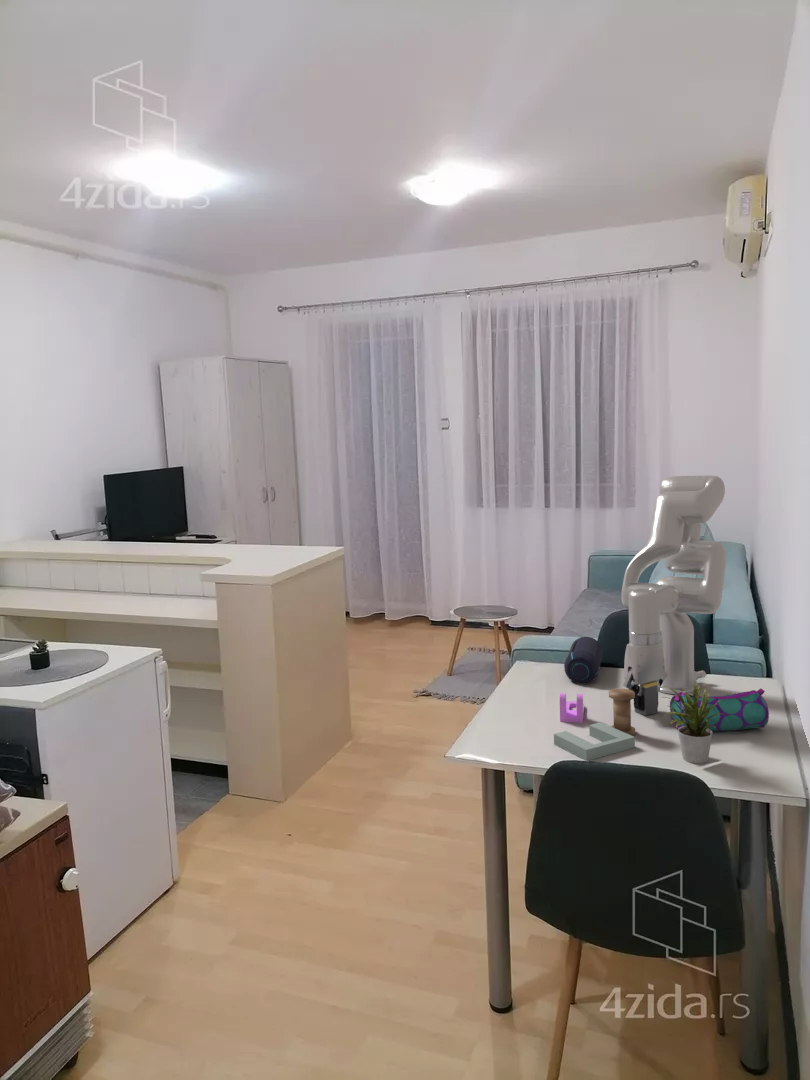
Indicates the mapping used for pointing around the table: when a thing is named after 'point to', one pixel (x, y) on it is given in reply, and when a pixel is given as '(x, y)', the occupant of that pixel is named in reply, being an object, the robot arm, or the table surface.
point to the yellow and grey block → (649, 698)
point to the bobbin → (622, 710)
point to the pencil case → (729, 710)
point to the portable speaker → (583, 660)
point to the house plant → (694, 727)
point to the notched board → (587, 751)
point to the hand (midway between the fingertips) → (646, 706)
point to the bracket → (568, 714)
